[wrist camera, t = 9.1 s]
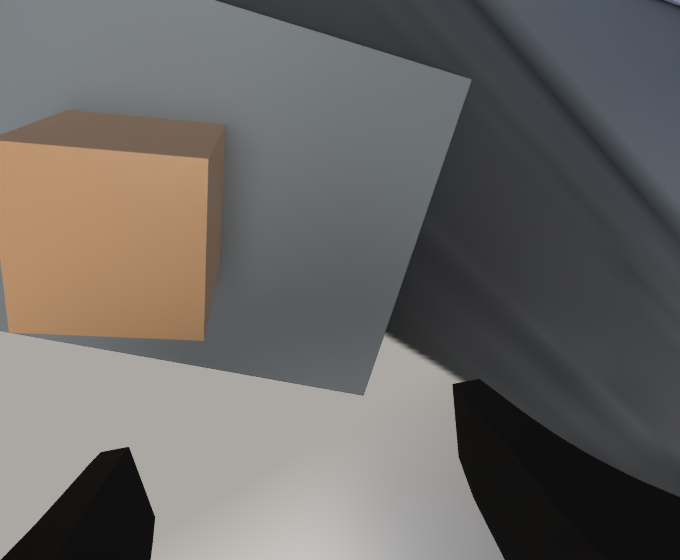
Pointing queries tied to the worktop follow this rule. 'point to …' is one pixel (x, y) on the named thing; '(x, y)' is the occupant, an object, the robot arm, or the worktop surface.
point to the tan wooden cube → (111, 225)
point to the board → (258, 165)
